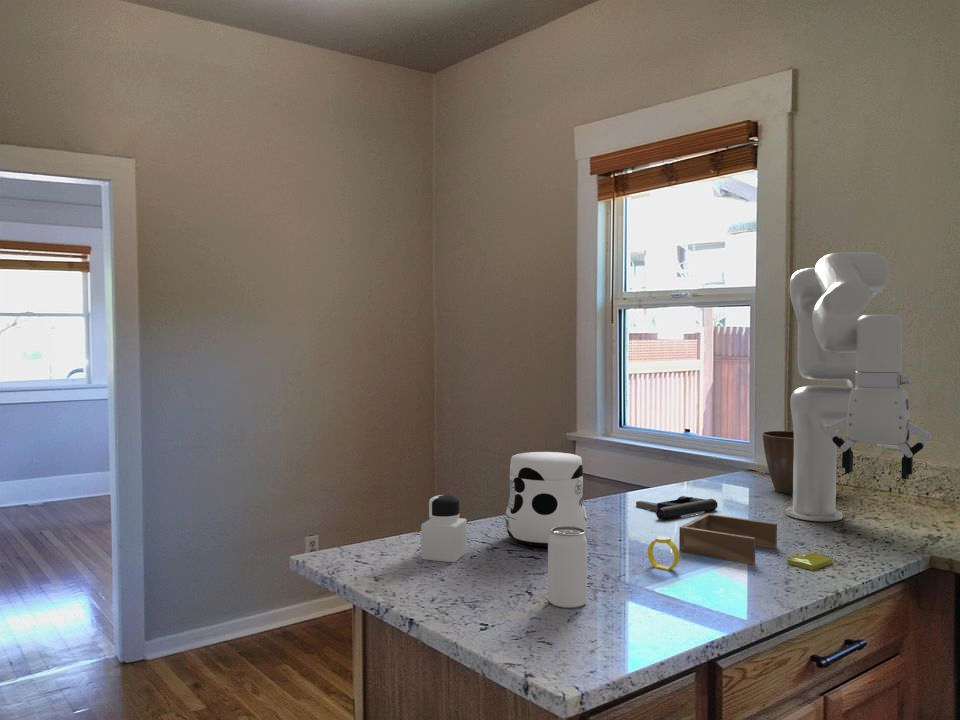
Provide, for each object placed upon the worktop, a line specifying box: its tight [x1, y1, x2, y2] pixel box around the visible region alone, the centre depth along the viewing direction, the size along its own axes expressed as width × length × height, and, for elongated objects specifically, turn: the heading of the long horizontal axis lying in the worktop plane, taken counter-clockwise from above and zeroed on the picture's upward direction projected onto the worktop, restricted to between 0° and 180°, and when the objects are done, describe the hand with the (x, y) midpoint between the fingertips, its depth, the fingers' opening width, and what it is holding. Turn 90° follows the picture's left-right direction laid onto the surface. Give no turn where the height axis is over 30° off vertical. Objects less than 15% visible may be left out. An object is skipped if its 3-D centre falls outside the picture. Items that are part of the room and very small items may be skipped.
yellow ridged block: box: [778, 551, 834, 571], centre depth 152 cm, size 10×9×3 cm
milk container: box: [504, 451, 588, 547], centre depth 167 cm, size 17×17×18 cm
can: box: [547, 526, 588, 609], centre depth 130 cm, size 6×6×12 cm
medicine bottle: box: [420, 494, 468, 564], centre depth 156 cm, size 7×7×12 cm
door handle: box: [635, 495, 718, 521], centre depth 196 cm, size 3×20×16 cm
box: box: [678, 512, 778, 565], centre depth 161 cm, size 15×15×5 cm
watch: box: [647, 535, 680, 572], centre depth 149 cm, size 6×3×6 cm, turn 48°
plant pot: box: [761, 430, 794, 495], centre depth 219 cm, size 15×15×16 cm
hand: (876, 475), depth 144 cm, fingers open, 9 cm apart
